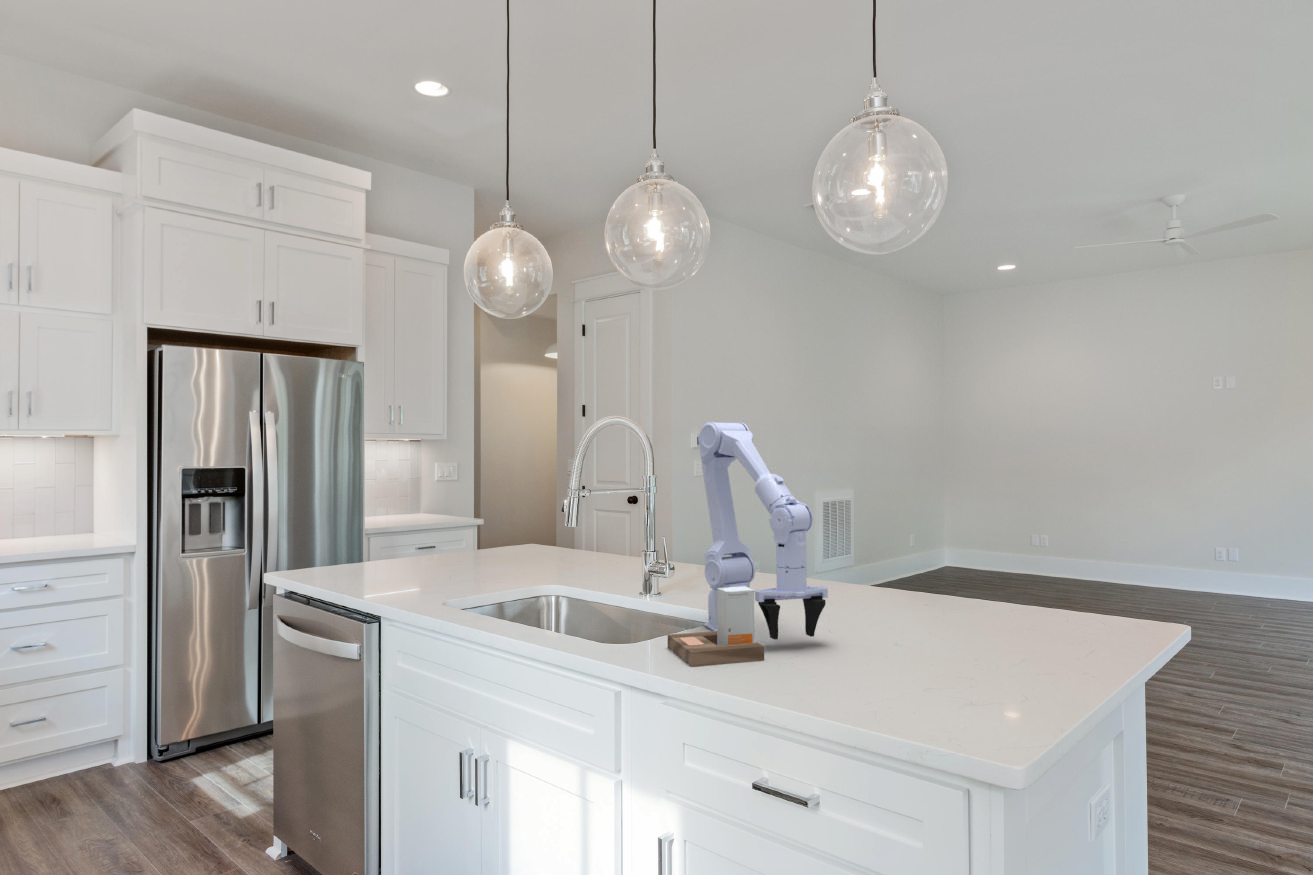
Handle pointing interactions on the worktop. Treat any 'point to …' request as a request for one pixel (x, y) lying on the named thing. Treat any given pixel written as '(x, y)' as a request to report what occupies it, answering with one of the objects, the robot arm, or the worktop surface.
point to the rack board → (712, 649)
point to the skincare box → (735, 615)
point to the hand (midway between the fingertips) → (792, 636)
